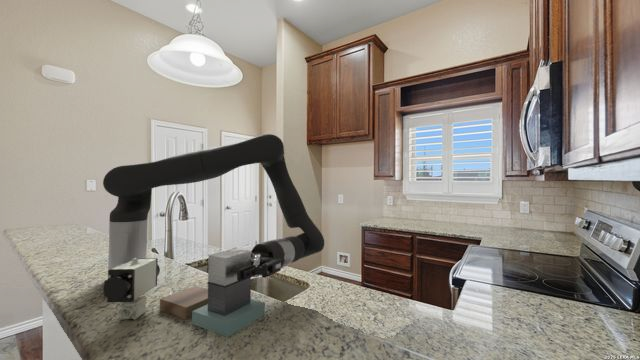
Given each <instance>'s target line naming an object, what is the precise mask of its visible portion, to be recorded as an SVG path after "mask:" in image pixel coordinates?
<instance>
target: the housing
mask: <svg viewBox="0 0 640 360" xmlns="http://www.w3.org/2000/svg"><path fill="white" fill-rule="evenodd" d="M251 251H252V250H248V249H242V248H241V249H239V248H232V249H226V250H222V251H219V252H215V253H212V254H209V255H208V258H207V259H208V264H207V266H208V273H207V275H208V276H207V281H206V283H207V289H208V311H210V312H213V313H216V314H219V315H222V316H226V315H228V314H230V313H232V312H234V311H236V310H238V309H240V308H241V307H243V306H245V305H247V304H249V303H251V298H252V297H251V296H252V294H251V293H252V289H251V288H252V287H251V286H252V285H251V283H252V282H251V281H252V277H251V278H248V279H246V280H243V281H238V280H237V271H238V270H239V269H241V268H244V267H247V266H250V265H251Z"/></svg>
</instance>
